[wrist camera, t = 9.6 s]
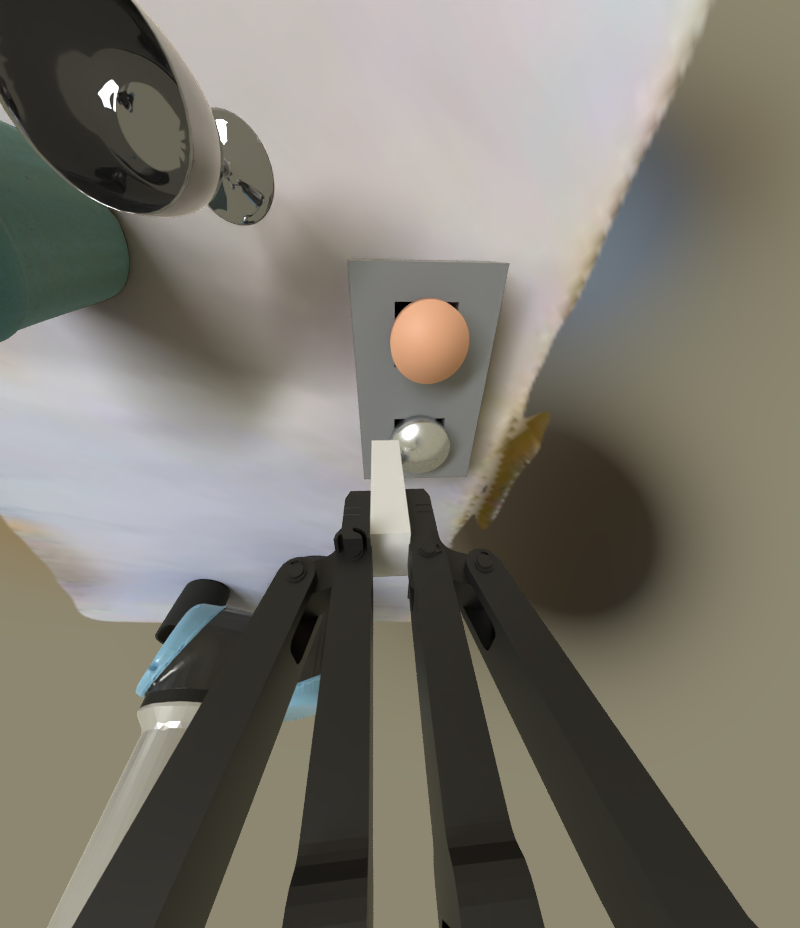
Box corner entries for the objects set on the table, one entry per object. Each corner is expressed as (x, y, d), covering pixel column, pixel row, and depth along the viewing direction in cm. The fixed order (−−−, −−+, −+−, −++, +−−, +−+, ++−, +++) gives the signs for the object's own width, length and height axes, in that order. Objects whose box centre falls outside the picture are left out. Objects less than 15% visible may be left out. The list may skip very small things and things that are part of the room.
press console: (456, 451, 44) (466, 476, 39) (365, 453, 43) (364, 479, 38) (488, 261, 30) (509, 263, 25) (352, 258, 29) (347, 260, 24)
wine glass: (219, 243, 27) (96, 237, 15) (154, 122, 23) (-94, -20, 11) (295, 213, 26) (226, 182, 14) (243, 80, 22) (79, -127, 10)
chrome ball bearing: (437, 442, 41) (446, 472, 36) (389, 443, 41) (390, 473, 35) (442, 397, 37) (453, 422, 32) (388, 397, 37) (390, 423, 31)
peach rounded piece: (448, 361, 33) (463, 383, 28) (388, 361, 33) (390, 384, 27) (456, 291, 29) (475, 301, 23) (388, 290, 29) (390, 300, 23)
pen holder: (185, 573, 58) (154, 625, 50) (234, 581, 61) (213, 631, 53) (184, 596, 63) (155, 646, 55) (229, 603, 66) (209, 651, 58)
